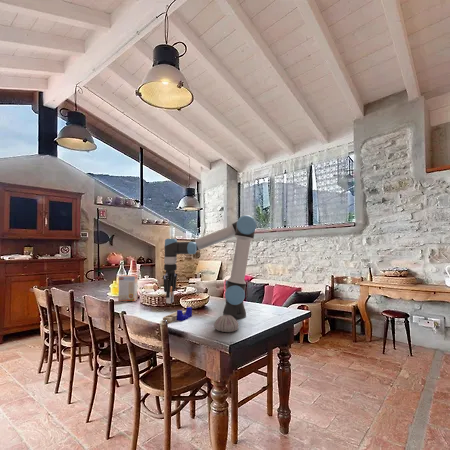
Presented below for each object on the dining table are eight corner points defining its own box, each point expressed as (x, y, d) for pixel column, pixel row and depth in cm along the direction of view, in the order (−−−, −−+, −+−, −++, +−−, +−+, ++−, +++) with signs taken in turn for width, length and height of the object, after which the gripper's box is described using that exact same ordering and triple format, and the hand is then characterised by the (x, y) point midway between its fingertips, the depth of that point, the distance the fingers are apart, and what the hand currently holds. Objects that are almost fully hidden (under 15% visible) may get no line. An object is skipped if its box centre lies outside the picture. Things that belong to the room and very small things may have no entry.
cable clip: (182, 321, 178) (182, 311, 179) (176, 320, 181) (176, 310, 181) (193, 317, 189) (193, 307, 190) (188, 316, 191) (188, 306, 192)
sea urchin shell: (225, 325, 169) (225, 311, 170) (244, 329, 160) (243, 314, 161) (209, 330, 159) (209, 315, 160) (227, 335, 150) (227, 319, 151)
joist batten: (186, 315, 192) (186, 311, 192) (170, 323, 173) (170, 318, 173) (179, 315, 194) (179, 310, 194) (162, 322, 175) (162, 317, 175)
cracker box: (137, 300, 244) (137, 275, 246) (134, 302, 238) (134, 276, 240) (121, 300, 246) (122, 275, 247) (118, 301, 240) (118, 275, 241)
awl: (172, 302, 179) (173, 286, 180) (170, 303, 177) (170, 286, 177) (168, 302, 180) (169, 286, 181) (166, 303, 178) (167, 286, 178)
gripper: (169, 264, 171) (168, 305, 170) (182, 263, 186) (181, 300, 184) (158, 264, 174) (157, 304, 172) (171, 262, 189) (171, 299, 187)
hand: (169, 302), depth 178 cm, fingers closed on awl, 3 cm apart
